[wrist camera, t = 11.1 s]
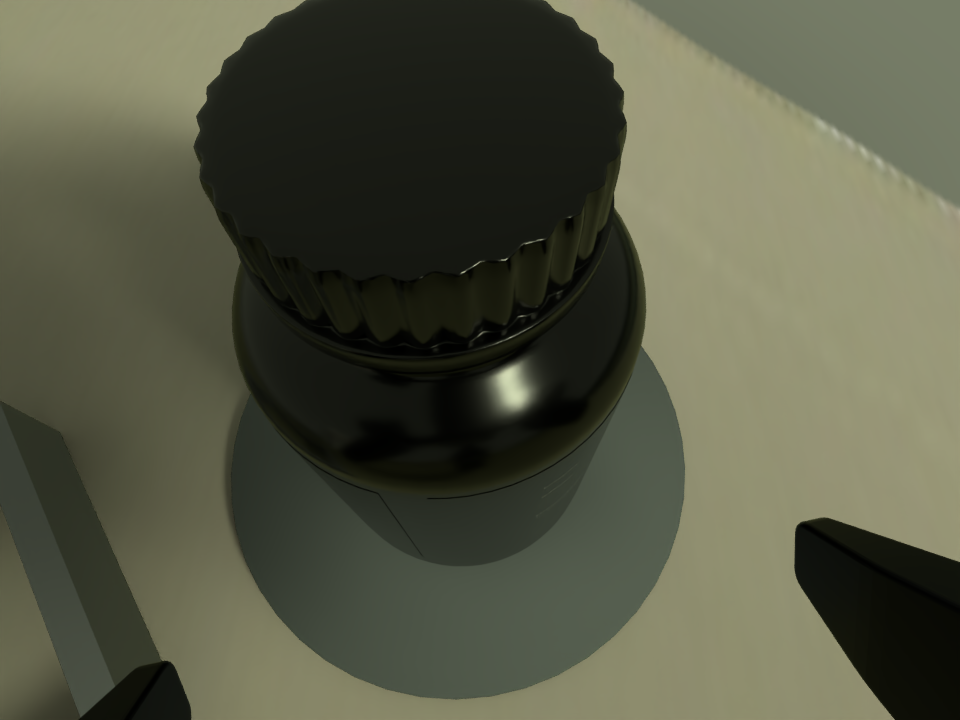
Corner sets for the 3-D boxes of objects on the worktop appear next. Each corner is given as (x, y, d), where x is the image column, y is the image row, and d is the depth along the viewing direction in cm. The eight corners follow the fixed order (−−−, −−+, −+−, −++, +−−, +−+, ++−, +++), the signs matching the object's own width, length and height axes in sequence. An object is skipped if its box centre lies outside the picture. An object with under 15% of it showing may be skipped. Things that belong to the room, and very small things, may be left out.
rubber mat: (700, 310, 20) (704, 303, 19) (650, 767, 14) (654, 770, 14) (331, 233, 21) (328, 226, 21) (154, 617, 16) (146, 617, 15)
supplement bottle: (520, 313, 19) (565, -123, 8) (623, 510, 16) (888, 231, 6) (314, 389, 18) (61, -4, 7) (386, 615, 15) (147, 515, 4)
